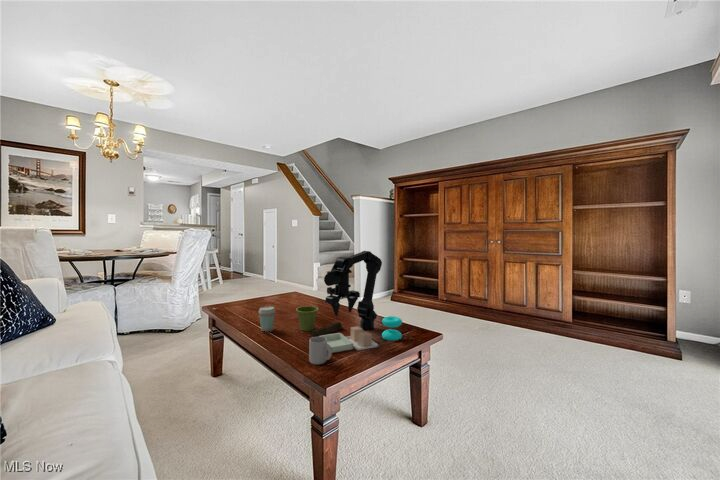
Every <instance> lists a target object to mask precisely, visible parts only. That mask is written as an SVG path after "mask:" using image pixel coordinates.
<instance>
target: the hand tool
mask: <svg viewBox="0 0 720 480" xmlns="http://www.w3.org/2000/svg"><path fill="white" fill-rule="evenodd" d="M342 328H343V325H342V323H341V322H339V321H337V322H333V323H332V324H331V325H328V326H326V327H322V328H319V329H315V330H314V329H313V330H311V337H312V338H313V337H319V336H322V335H328V334H332V333H334V332H337V331H340V330H342Z"/></svg>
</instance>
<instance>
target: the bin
mask: <svg viewBox="0 0 720 480" xmlns="http://www.w3.org/2000/svg"><path fill="white" fill-rule="evenodd" d="M319 337H325V338H327V344H329V345H330V346H331V350H332V354H333V353H339V352H344V351H350V350H354V347H353V343H352V342H351V341H350V340H348V339H347V338H346V337H347V336H345V335H344V334H343V333H342V332H336V333H328V334H324V335H321V336H319Z"/></svg>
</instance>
